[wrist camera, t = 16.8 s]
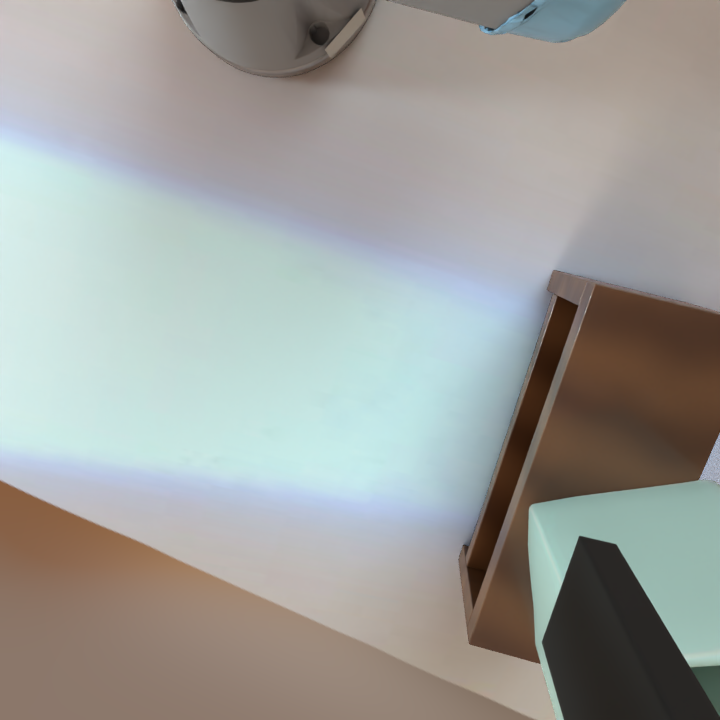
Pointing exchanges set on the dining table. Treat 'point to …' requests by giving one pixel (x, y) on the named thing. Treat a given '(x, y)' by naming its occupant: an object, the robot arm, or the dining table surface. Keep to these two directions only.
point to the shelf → (590, 432)
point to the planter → (641, 562)
